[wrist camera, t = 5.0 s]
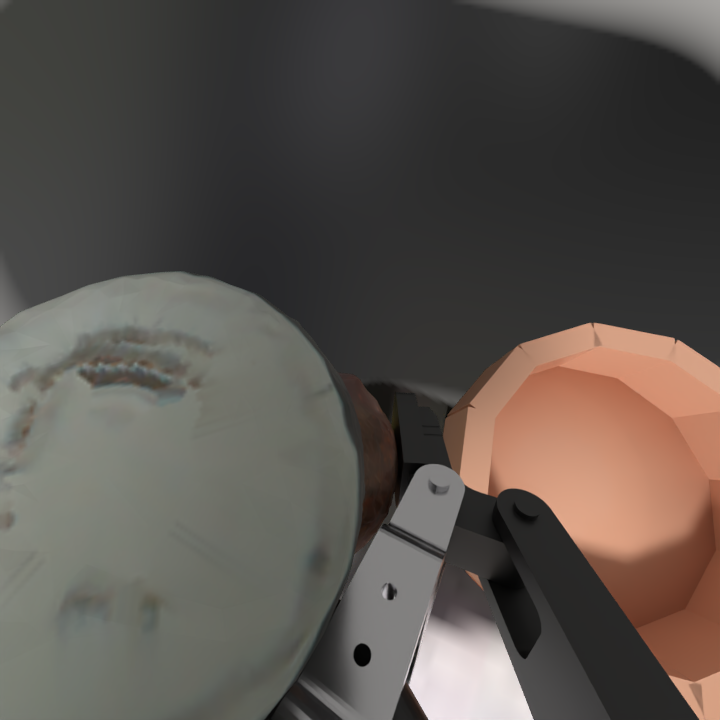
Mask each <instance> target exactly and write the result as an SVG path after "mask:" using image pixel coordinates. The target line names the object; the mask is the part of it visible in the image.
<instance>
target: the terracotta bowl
mask: <svg viewBox="0 0 720 720" xmlns="http://www.w3.org/2000/svg"><path fill="white" fill-rule="evenodd" d="M447 416H448V417H447V418H445V425H444V432H443V439H444V443H445V446H446V450H447V453H448V457H449V460H450V464H451V467H452V470H453V471H455V472H456V473H457V474H458V475H459V476H460V477H461V479H462V480H463V482H464V484H465V485H466V486H468V487H469V488H471V489H473V490H476V491H478V492H481V493H484V494H487V495H491V496H494V497H498V495H499V494H500V493H501V492H502V491H504V490H506V489H511V488H516V489H522V490H525V491H528V492H530V493H532V494H534V495H536V496H538V497H539V498H540V499H542V500H543V501H544V502H545V503H546V504H547V505H548V506H549V507H550V508H551V510H552V511H553V513H554V514H555V515H556V517H557V518H558V520H559V521H560V522H561V524H562V525H563V527H564V528H565V530H566V531H567V532H568V534H569V535H570V537H571V538H572V540H573V541H574V542H575V544H576V545H577V547H578V548H579V549H580V551H581V552H582V554H583V555H584V557H585V558H586V559H587V561H588V562H589V564H590V565H591V566H592V568H593V569H594V571H595V572H596V574H597V575H598V576H599V578H600V579H601V581H602V582H603V583H604V585H605V586H606V588H607V589H608V591H609V592H610V593H611V595H612V596H613V598H614V599H615V601H616V602H617V603H618V605H619V606H620V608H621V609H622V610H623V612H624V613H625V615H626V616H627V618H628V619H629V620H630V622H631V623H632V625H633V626H634V627H635V629H636V630H637V632H638V633H639V635H640V636H641V637H642V639H643V640H644V642H645V643H646V644H647V646H648V647H649V649H650V650H651V652H652V653H653V654H654V656H655V657H656V659H657V660H658V662H659V663H660V664H661V666H662V667H663V669H664V670H665V671H666V673H667V674H668V676H669V677H670V679H671V680H672V681H673V683H674V684H675V686H676V687H677V688H678V690H679V691H680V693H681V694H682V696H683V697H684V698H685V700H686V701H687V703H688V704H689V705H690V707H691V708H692V710H693V711H694V713H695V714H696V715H697V717H698V718H699V720H720V368H719V367H718V366H716V365H715V364H713V363H712V362H711V361H709V360H708V359H706V358H704V357H703V356H701V355H700V354H699V353H697V352H695V351H694V350H693V349H691V348H690V347H688V346H687V345H685V344H684V343H682V342H681V341H679V340H677V341H675V339H674V338H670V337H665V336H660V335H654V334H650V333H645V332H639V331H635V330H629V329H625V328H619V327H614V326H609V325H604V324H599V323H592V324H591V323H587V324H584V325H581V326H578V327H574V328H571V329H568V330H564V331H561V332H558V333H555V334H551V335H548V336H545V337H541V338H538V339H535V340H532V341H528V342H525V343H522V344H519V345H518V346H516V347H515V348H514V349H512V350H511V351H510V352H508V353H507V354H506V355H504V356H503V357H502V358H500V359H499V360H498V361H497V362H495V363H493V364H492V365H491V366H490V367H488V368H487V369H486V370H485V371H484V372H483V373H482V374H481V375H480V377H479V378H478V379H477V380H476V381H475V383H474V384H473V385H472V386H471V388H469V390H468V391H467V392H466V393H465V394H464V396H463V397H462V398H461V399H460V400H459V402H458V403H457V404H456V405H455V406H454V407H453V409H452V410H451V411H450V412H449V413H448V415H447ZM466 572H467V573H468V574H469V576H470V577H471V578H472V579H473V580H474V581H475V582H476V583H477V584H478V585H479V586H480V587H481V588H482V585H481V583H480V580H479V577H478V575H476V574H474V573H471V572H469V571H466ZM482 589H483V588H482Z"/></svg>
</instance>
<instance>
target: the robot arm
mask: <svg viewBox="0 0 720 720" xmlns="http://www.w3.org/2000/svg"><path fill="white" fill-rule="evenodd" d="M392 429H393V431H394V435H395V440H396V445H397V451H398V477H397V481H396V490H395V501H396V511H395V513H394V515H393V517H392V519H391V521H390V523H389V524H388V525H387V524H383V525H382V526H381V528H380V529H379V531H378V533H377V534H376V536H375V538H374V540H373V542H372V544H371V546H370V547H369V549H368V551H367V553H366V555H365V557H364V558H363V560H362V562H361V564H360V566H359V568H358V570H357V571H356V573H355V575H354V577H353V579H352V581H351V583H350V584H349V586H348V588H347V590H346V592H345V594H344V596H343V597H342V599H341V600H340V599H339V600H338V603H337V605H336V607H335V610H334V612H333V614H332V617H331V619H330V621H329V623H328V626H327V628H326V630H325V633H324V634H323V636H322V638H321V639H320V641H319V643H318V645H317V646H316V648H315V650H314V651H313V653H312V655H311V656H310V658H309V660H308V662H307V663H306V665H305V667H304V668H303V670H302V672H301V674H300V675H299V677H298V679H297V680H296V682H295V683H294V684H293V685H292V686H291V688H290V689H289V690H288V691H287V693H286V694H285V695H284V696H283V697H282V699H281V700H280V701H279V702H278V704H277V705H276V706H275V707H274V708H273V710H272V711H271V712H270V713H269V715H268V716H267V717H266V718H265V719H264V720H428V718H427V716H426V715H425V713H424V711H423V710H422V708H421V706H420V704H419V703H418V701H417V699H416V697H415V696H414V694H413V692H412V691H411V689H410V687H409V684H410V681H411V677H412V674H413V671H414V667H415V664H416V661H417V658H418V654H419V651H420V647H421V644H422V641H423V637H424V634H425V630H426V627H427V623H428V620H429V616H430V613H431V610H432V606H433V603H434V600H435V596H436V593H437V590H438V587H439V583H440V580H441V577H442V573H443V570H444V567H445V564H446V563H449V564H451V565H454V566H456V567H459V568H461V569H464V570H466V571H469V572H471V573H474V574H476V575H478V577H479V580H480V583H481V585H482V588H483V590H484V593H485V595H486V598H487V601H488V603H489V606H490V608H491V611H492V613H493V616H494V619H495V621H496V624H497V626H498V629H499V631H500V634H501V637H502V639H503V642H504V644H505V647H506V649H507V652H508V655H509V657H510V660H511V662H512V665H513V667H514V670H515V673H516V675H517V678H518V680H519V683H520V685H521V688H522V691H523V693H524V696H525V698H526V701H527V703H528V706H529V709H530V711H531V714H532V716H533V719H534V720H699V718H698V717H697V715H696V714H695V713H694V711H693V710H692V708H691V707H690V705H689V704H688V703H687V701H686V700H685V698H684V697H683V696H682V694H681V693H680V691H679V690H678V688H677V687H676V686H675V684H674V683H673V681H672V680H671V679H670V677H669V676H668V674H667V673H666V671H665V670H664V669H663V667H662V666H661V664H660V663H659V662H658V660H657V659H656V657H655V656H654V654H653V653H652V652H651V650H650V649H649V647H648V646H647V644H646V643H645V642H644V640H643V639H642V637H641V636H640V635H639V633H638V632H637V630H636V629H635V627H634V626H633V625H632V623H631V622H630V620H629V619H628V618H627V616H626V615H625V613H624V612H623V610H622V609H621V608H620V606H619V605H618V603H617V602H616V601H615V599H614V598H613V596H612V595H611V593H610V592H609V591H608V589H607V588H606V586H605V585H604V583H603V582H602V581H601V579H600V578H599V576H598V575H597V574H596V572H595V571H594V569H593V568H592V566H591V565H590V564H589V562H588V561H587V559H586V558H585V557H584V555H583V554H582V552H581V551H580V549H579V548H578V547H577V545H576V544H575V542H574V541H573V540H572V538H571V537H570V535H569V534H568V532H567V531H566V530H565V528H564V527H563V525H562V524H561V522H560V521H559V520H558V518H557V517H556V515H555V514H554V513H553V511H552V510H551V508H550V507H549V506H548V505H547V504H546V503H545V502H544V501H543V500H542V499H540V498H539V497H538V496H536V495H534V494H532V493H530V492H528V491H525V490H522V489H516V488H511V489H506V490H504V491H502V492H501V493H500V494H499V495H498V497H494V496H491V495H487V494H484V493H481V492H478V491H476V490H473V489H471V488H469V487H468V486H466V485H465V484H464V482H463V480H462V479H461V477H460V476H459V475H458V474H457V473H456V472H455V471H453V470H452V467H451V464H450V460H449V457H448V453H447V450H446V446H445V443H444V439H443V437H442V432H441V429H440V425H439V422H438V418H437V416H436V415H435V414H434V412H433V411H432V410H431V409H430V408H429V407H418V405H417V400H416V395H415V393H400V392H395V396H394V406H393V416H392Z"/></svg>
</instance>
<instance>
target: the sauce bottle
mask: <svg viewBox="0 0 720 720" xmlns="http://www.w3.org/2000/svg"><path fill="white" fill-rule="evenodd" d="M397 477H398V451H397V445H396V440H395V435H394V431H393V429H392V427H391V424H390V422H389V420H388V418H387V417H386V414H385V413H384V412H383V411H382V409H381V408H380V406H379V404H378V402H377V400H376V399H375V398H374V397H373V396H372V395H371V394H370V393H369V392H368V391H367V390H366V388H365V387H364V385H363V384H362V382H361V380H360V379H359V378H358V377H356V376H355V375H353V374H347V373H338V372H337V371H336V370H335V368H334V367H333V365H332V364H331V362H330V361H329V360H328V358H327V357H326V356H325V355H324V353H322V352H321V350H320V349H319V347H318V346H317V344H316V343H315V342H314V340H313V339H312V338H311V336H310V335H309V334H308V333H307V332H306V331H305V330H304V329H303V327H302V326H301V325H300V323H299V322H298V321H296V320H294V319H292V318H290V317H288V316H287V315H286V314H284V313H283V312H282V311H281V310H280V309H278V308H277V307H275V306H274V305H273V304H271V303H270V302H269V301H267V300H266V299H265V298H263V297H262V296H261V295H259V294H256V293H253V292H250V291H247V290H244V289H241V288H238V287H235V286H231V285H229V284H227V283H224V282H222V281H220V280H218V279H215V278H213V277H211V276H201V275H197V274H193V273H188V272H182V271H181V272H180V271H178V272H159V273H150V274H141V275H128V276H122V277H118V278H114V279H110V280H106V281H103V282H99V283H95V284H91V285H87V286H84V287H82V288H79V289H77V290H75V291H72V292H70V293H67V294H65V295H63V296H60V297H58V298H55V299H53V300H50V301H47V302H44V303H42V304H39V305H36V306H34V307H31V308H28V309H26V310H23V311H20V312H19V313H18V314H16V315H15V316H14V317H12V318H11V319H10V320H8V321H7V322H5V323H4V324H3V325H1V326H0V720H264V719H265V718H266V717H267V716H268V715H269V713H270V712H271V711H272V710H273V708H274V707H275V706H276V705H277V704H278V702H279V701H280V700H281V699H282V697H283V696H284V695H285V694H286V693H287V691H288V690H289V689H290V688H291V686H292V685H293V684H294V683H295V682H296V680H297V679H298V677H299V675H300V674H301V672H302V670H303V668H304V667H305V665H306V663H307V662H308V660H309V658H310V656H311V655H312V653H313V651H314V650H315V648H316V646H317V645H318V643H319V641H320V639H321V638H322V636H323V634H324V633H325V630H326V628H327V626H328V623H329V621H330V619H331V617H332V614H333V612H334V610H335V607H336V605H337V603H338V600H339V598H340V596H341V593H342V591H343V589H344V586H345V584H346V582H347V579H348V576H349V573H350V569H351V566H352V562H353V557H354V554H355V553H356V552H358V551H359V550H360V549H361V548H362V547H364V546H365V545H366V544H367V542H368V541H369V540H371V539H372V537H373V536H374V534H375V533H376V532H377V530H378V529H379V527H380V526H381V524H382V522H383V520H384V519H385V518H386V516H387V515H388V511H389V508H390V506H391V503H392V498H393V494H394V492H395V490H396V481H397Z"/></svg>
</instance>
